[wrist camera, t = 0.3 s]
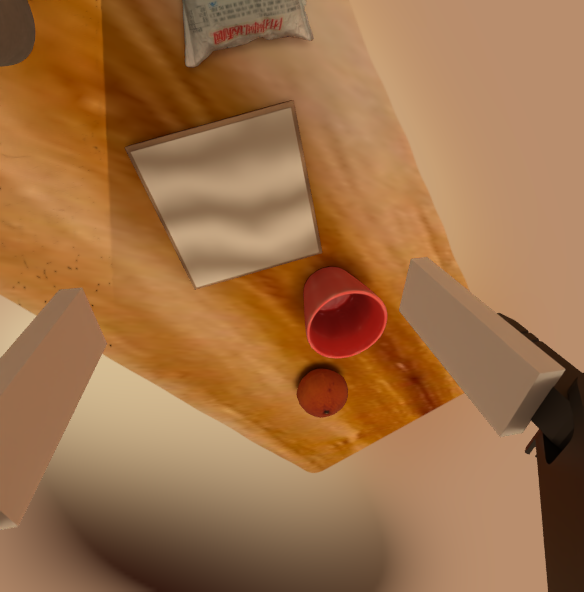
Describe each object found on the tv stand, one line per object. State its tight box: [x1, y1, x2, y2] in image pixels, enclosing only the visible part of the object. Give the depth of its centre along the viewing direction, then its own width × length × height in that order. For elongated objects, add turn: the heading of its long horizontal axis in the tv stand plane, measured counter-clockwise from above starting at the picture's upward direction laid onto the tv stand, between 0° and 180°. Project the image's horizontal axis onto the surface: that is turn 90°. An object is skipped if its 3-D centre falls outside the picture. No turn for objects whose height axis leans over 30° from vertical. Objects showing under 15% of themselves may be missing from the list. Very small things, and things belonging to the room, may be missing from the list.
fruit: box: [297, 369, 348, 418], centre depth 54 cm, size 9×9×8 cm
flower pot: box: [304, 267, 387, 358], centre depth 43 cm, size 11×11×10 cm
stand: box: [125, 100, 322, 290], centre depth 37 cm, size 18×18×2 cm
